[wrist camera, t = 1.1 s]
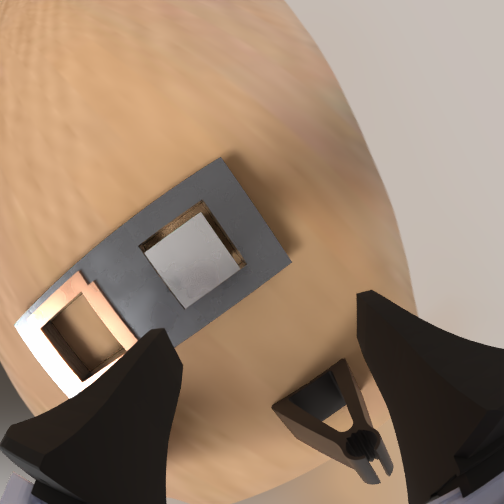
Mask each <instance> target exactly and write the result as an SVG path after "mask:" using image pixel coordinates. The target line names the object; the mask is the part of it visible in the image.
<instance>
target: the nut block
mask: <svg viewBox="0 0 504 504" xmlns="http://www.w3.org/2000/svg"><path fill="white" fill-rule="evenodd" d="M145 255H146V256H147V258H148V259H149V261H150V262H151V263H152V265H153V266H154V268H155V269H156V270H157V272H158V273H159V275H160V276H161V277H162V279H163V280H164V281H165V283H166V284H167V286H168V287H169V288H170V290H171V291H172V292H173V294H174V295H175V296H176V298H177V299H178V300H179V301H180V303H181V304H182V305H183V307H184V308H185V309H186V308H187V307H189V306H190V305H191V304H193V303H194V302H196V301H197V300H198V299H200V298H201V297H202V296H204V295H205V294H207V293H208V292H209V291H211V290H212V289H214V288H215V287H216V286H218V285H219V284H220V283H222V282H223V281H225V280H226V279H227V278H229V277H230V276H232V275H233V274H234V273H236V272H237V271H238V270H240V267H239V266H238V265H237V263H236V262H235V260H234V259H233V258H232V256H231V255H230V253H229V252H228V250H227V249H226V248H225V246H224V245H223V243H222V242H221V240H220V239H219V238H218V236H217V235H216V233H215V232H214V230H213V229H212V227H211V226H210V225H209V223H208V222H207V220H206V219H205V217H204V216H203V214H202V213H201V212H200V213H199V214H197V215H196V216H194V217H193V218H191V219H190V220H189V221H187V222H186V223H184V224H183V225H182V226H180V227H179V228H177V229H176V230H175V231H173V232H172V233H170V234H169V235H168V236H166V237H165V238H164V239H162V240H161V241H160V242H158V243H157V244H156V245H154V246H153V247H152V248H150V249H149V250H148V251H146V252H145Z"/></svg>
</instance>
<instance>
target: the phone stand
mask: <svg viewBox="0 0 504 504" xmlns="http://www.w3.org/2000/svg"><path fill="white" fill-rule="evenodd" d="M345 405H347V408H348V410H349V412H350V415H351V417H352V420H353V426H352V427H351V428H350V429H349V430H348V431H345V432H339V431H337V430H335V429H333V428H332V427H330V426H328V425H327V424H325V423H323V422H322V421H323V420H325V419H326V418H328V417H329V416H331V415H332V414H334V413H335V412H336V411H338V410H339V409H341V408H342V407H343V406H345ZM272 409H273V411H274V412H275V413H276V414H277V416H278V417H279V418H280V419H281V420H282V422H283V423H284V424H285V425H286V427H287V428H288V429H289V430H290V431H291V433H292V434H293V435H294V436H295V437H296V438H297V439H299V440H300V441H302V442H304V443H305V444H307V445H309V446H311V447H312V448H314V449H316V450H318V451H319V452H321V453H323V454H325V455H327V456H329V457H331V458H333V459H335V460H336V461H339V462H341V463H342V464H344V465H346V466H348V467H350V468H353V469H354V470H356V472H357V473H358V474H359V476H360V477H361V478H362V480H363V481H364V482H365V483H367V484H379V483H381V482H380V480H379V478H378V476H377V475H376V473H375V471H374V470H373V468H372V466H371V465H370V463H369V461H370V462H372V461H373V460H374V458H375V459H379V460H380V462H381V464H382V466H383V468H384V470H385V472H386V474H387V475H388V476H390V475H391V473H392V471H393V463H392V461H391V458H390V456H389V454H388V452H387V449H386V447H385V445H384V443H383V440H382V438H381V436H380V434H379V432H378V431H377V430H375V429H374V428H373V425H372V422H371V419H370V416H369V413H368V410H367V407H366V404H365V401H364V399H363V396H362V393H361V391H360V389H359V387H358V385H357V382H356V380H355V378H354V376H353V374H352V372H351V370H350V368H349V366H348V364H347V362H346V360H345V359H341V360H340V361H338V362H337V363H336V364H334V365H333V366H331V367H330V368H329V369H327V370H326V371H324V372H323V373H322V374H320V375H319V376H317V377H316V378H314V379H313V380H311V381H310V383H309V384H305V385H304V386H302V387H301V388H299V389H298V390H296V391H295V392H293V393H292V394H290V395H288V396H287V397H285V398H284V399H282V400H280V401H279V402H277V403H275V404H274V405H272Z"/></svg>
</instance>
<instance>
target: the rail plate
mask: <svg viewBox="0 0 504 504" xmlns="http://www.w3.org/2000/svg"><path fill="white" fill-rule="evenodd" d="M200 203H202V204H203V205H204V207H205V208H206V209H207V211H208V212H209V214H210V215H211V217H212V218H213V220H214V221H215V222H216V224H217V225H218V227H219V228H220V230H221V231H222V233H223V234H224V235H225V237H226V238H227V240H228V241H229V243H230V244H231V246H232V247H233V248H234V250H235V251H236V253H237V254H238V256H239V257H240V258H241V260H242V261H243V262H242V263H241V264H239V265H238V266H239V267H240V270H238V271H237V272H236V273H234V274H233V275H232V276H230V277H229V278H227V279H226V280H225V281H223V282H222V283H220V284H219V285H218V286H216V287H215V288H214V289H212V290H211V291H209V292H208V293H207V294H205V295H204V296H202V297H201V298H200V299H198V300H197V301H196V302H194V303H193V304H191V305H190V306H189V307H187V308H186V309H185V308H184V307H183V305H182V304H181V303H180V301H179V300H178V299H177V298H176V296H175V295H174V294H173V292H172V291H171V290H170V288H169V287H168V286H167V284H166V283H165V281H164V280H163V279H162V277H161V276H160V275H159V273H158V272H157V270H156V269H155V268H154V266H153V265H152V263H151V262H150V261H149V259H148V258H147V256H146V255H145V252H146V249H145V248H144V246H143V244H145V243H146V242H147V241H149V240H150V239H151V238H153V237H154V236H155V235H157V234H158V233H159V232H161V231H162V230H163V229H165V228H166V227H167V226H169V225H170V224H172V223H173V222H174V221H176V220H177V219H179V218H180V217H181V216H183V215H184V214H186V213H187V212H189V211H190V210H191V209H193V208H194V207H196V206H197V205H199V204H200ZM290 263H292V261H291V260H290V258H289V257H288V255H287V254H286V252H285V251H284V249H283V248H282V246H281V245H280V243H279V242H278V240H277V239H276V237H275V236H274V234H273V233H272V231H271V230H270V228H269V227H268V225H267V224H266V222H265V221H264V219H263V218H262V216H261V215H260V213H259V212H258V210H257V209H256V207H255V206H254V204H253V203H252V201H251V200H250V198H249V197H248V196H247V194H246V193H245V191H244V190H243V188H242V187H241V185H240V184H239V182H238V181H237V180H236V178H235V177H234V175H233V174H232V172H231V171H230V169H229V168H228V167H227V165H226V164H225V162H224V161H223V159H222V158H221V157H220V158H218V159H216V160H215V161H213V162H212V163H210V164H208V165H207V166H205V167H204V168H202V169H201V170H199V171H198V172H196V173H195V174H193V175H191V176H190V177H188V178H187V179H185V180H184V181H182V182H181V183H180V184H178V185H177V186H175V187H174V188H172V189H171V190H169V191H168V192H166V193H165V194H164V195H162V196H161V197H159V198H158V199H157V200H155V201H154V202H152V203H151V204H150V205H148V206H147V207H146V208H144V209H143V210H142V211H140V212H139V213H138V214H136V215H135V216H134V217H132V218H131V219H130V220H128V221H127V222H126V223H124V224H123V225H122V226H121V227H119V228H118V229H117V230H116V231H114V232H113V233H112V234H111V235H109V236H108V237H107V238H106V239H104V240H103V241H102V242H101V243H100V244H98V245H97V246H96V247H95V248H94V249H92V250H91V251H90V252H89V253H88V254H87V255H85V256H84V257H83V258H82V259H81V260H80V261H79V262H77V263H76V264H75V265H74V266H73V267H72V268H71V269H70V270H68V271H67V272H66V273H65V274H64V275H63V276H62V277H61V278H60V279H59V280H58V281H57V282H55V283H54V284H53V285H52V286H51V287H50V288H49V289H48V290H47V291H46V292H45V293H44V294H43V295H42V296H41V297H40V298H39V299H38V300H37V301H36V302H35V303H34V304H33V305H32V306H31V307H30V308H29V309H28V310H27V311H26V312H25V313H24V314H23V316H22V317H21V318H20V319H19V320H18V321H17V322H16V323H15V324H14V326H15V327H16V329H17V331H18V332H19V334H20V335H21V337H22V338H23V340H24V341H25V343H26V344H27V346H28V347H29V348H30V350H31V351H32V353H33V354H34V355H35V357H36V358H37V360H38V361H39V362H40V363H41V365H42V366H43V367H44V369H45V370H46V371H47V372H48V374H49V375H50V376H51V377H52V379H53V380H54V381H55V382H56V383H57V385H58V386H59V387H60V388H61V389H62V390H63V391H64V393H65V394H66V395H67V396H68V397H69V398H71V397H73V396H75V395H76V394H78V393H79V392H80V391H82V390H83V389H85V388H86V387H87V386H89V385H90V384H91V383H92V382H94V381H95V380H96V379H97V378H98V377H100V376H101V375H102V374H103V373H104V372H105V371H106V370H107V369H109V368H110V367H111V366H112V365H113V364H114V363H115V362H116V361H117V360H118V359H119V358H120V357H122V356H123V355H124V354H125V353H126V352H127V351H128V350H129V349H130V348H131V347H132V346H133V345H134V344H135V343H136V342H137V341H138V340H139V339H140V338H141V337H142V336H144V335H145V334H146V333H147V332H148V331H150V330H151V329H158V328H165V330H166V332H167V334H168V336H169V338H170V340H171V342H172V344H173V346H174V348H175V347H176V346H177V345H179V344H180V343H182V342H183V341H185V340H186V339H188V338H189V337H190V336H192V335H193V334H195V333H196V332H197V331H199V330H200V329H202V328H203V327H205V326H206V325H207V324H209V323H210V322H212V321H213V320H214V319H216V318H217V317H219V316H220V315H221V314H223V313H224V312H226V311H227V310H228V309H230V308H231V307H232V306H234V305H235V304H237V303H238V302H239V301H241V300H242V299H243V298H245V297H246V296H248V295H249V294H250V293H252V292H253V291H254V290H256V289H257V288H258V287H260V286H261V285H262V284H264V283H265V282H266V281H268V280H269V279H270V278H272V277H273V276H274V275H276V274H277V273H278V272H280V271H281V270H282V269H284V268H285V267H286V266H288V265H289V264H290ZM82 293H83V294H84V296H85V297H86V299H87V300H88V302H89V303H90V304H91V306H92V307H93V309H94V310H95V311H96V313H97V314H98V315H99V317H100V318H101V319H102V321H103V322H104V323H105V325H106V326H107V327H108V329H109V330H110V331H111V332H112V334H113V335H114V336H115V337H116V339H117V340H118V341H119V342H120V344H121V345H122V346H123V347H124V348H123V349H122V350H120V351H119V352H117V353H116V354H115V355H113V356H112V357H110V358H109V359H108V360H106V361H105V362H103V363H102V364H101V365H99V366H98V367H96V368H95V369H94V370H92V371H91V372H90V371H89V370H88V369H87V368H86V367H85V366H84V364H83V363H82V362H81V361H80V360H79V358H78V357H77V356H76V355H75V353H74V352H73V351H72V349H71V348H70V347H69V346H68V344H67V343H66V342H65V340H64V339H63V338H62V336H61V335H60V334H59V332H58V331H57V329H56V328H55V326H54V325H53V324H52V322H51V321H52V320H53V319H54V318H55V317H56V316H57V315H58V314H60V313H61V312H62V311H63V310H64V309H65V308H66V307H67V306H69V305H70V304H71V303H72V302H73V301H74V300H75V299H77V298H78V297H79V296H80V295H81V294H82Z"/></svg>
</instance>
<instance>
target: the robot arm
mask: <svg viewBox="0 0 504 504" xmlns="http://www.w3.org/2000/svg"><path fill="white" fill-rule="evenodd" d="M357 339H358V342H359V345H360V348H361V351H362V353H363V356H364V359H365V361H366V363H367V365H368V367H369V369H370V371H371V373H372V376H373V378H374V380H375V382H376V384H377V386H378V388H379V390H380V392H381V394H382V396H383V398H384V401H385V403H386V405H387V408H388V410H389V413H390V416H391V419H392V422H393V426H394V429H395V433H396V436H397V440H398V444H399V448H400V452H401V457H402V462H403V466H404V472H405V478H406V485H407V492H408V502H409V504H504V349H501V348H496V347H491V346H488V345H484V344H481V343H477V342H474V341H470V340H467V339H464V338H462V337H459V336H456V335H454V334H452V333H449V332H447V331H444V330H442V329H440V328H438V327H436V326H434V325H432V324H430V323H428V322H426V321H424V320H422V319H420V318H418V317H417V316H415V315H413V314H411V313H410V312H408V311H406V310H405V309H403V308H401V307H400V306H398V305H396V304H395V303H393V302H391V301H390V300H388V299H387V298H385V297H383V296H382V295H380V294H378V293H377V292H375V291H373V290H369V291H365V292H361V293H357ZM182 371H183V364H182V362H181V360H180V359H179V357H178V355H177V353H176V351H175V349H174V346H173V344H172V342H171V340H170V338H169V336H168V334H167V332H166V330H165V328H158V329H151V330H150V331H148V332H147V333H146V334H145V335H144V336H142V337H141V338H140V339H139V340H138V341H137V342H136V343H135V344H134V345H133V346H132V347H131V348H130V349H129V350H128V351H127V352H126V353H125V354H124V355H123V356H122V357H120V358H119V359H118V360H117V361H116V362H115V363H114V364H113V365H112V366H111V367H110V368H109V369H107V370H106V371H105V372H104V373H103V374H102V375H101V376H100V377H98V378H97V379H96V380H95V381H94V382H92V383H91V384H90V385H89V386H87V387H86V388H85V389H83V390H82V391H80V392H79V393H78V394H76V395H75V396H73V397H71V398H70V399H68V400H67V401H65V402H63V403H62V404H60V405H58V406H57V407H55V408H53V409H51V410H49V411H47V412H45V413H43V414H41V415H38V416H36V417H34V418H31V419H28V420H25V421H23V422H20V423H17V424H13V425H11V426H10V427H9V429H8V430H7V432H6V434H5V436H4V438H3V439H2V441H1V443H0V450H1V451H2V452H3V453H4V454H5V455H6V456H7V457H8V458H9V459H10V460H11V461H12V462H14V463H15V464H16V465H17V466H18V467H20V468H21V469H22V470H24V471H25V472H26V473H27V474H29V475H30V476H31V477H33V478H34V479H36V481H35V484H33V483H31V482H30V481H28V480H26V479H25V478H23V477H21V476H20V475H18V474H17V473H15V472H12V474H11V476H10V478H9V481H8V483H7V486H6V488H5V491H4V493H3V496H2V498H1V501H0V504H166V461H167V449H168V441H169V435H170V430H171V426H172V422H173V418H174V414H175V410H176V406H177V402H178V397H179V393H180V389H181V382H182Z"/></svg>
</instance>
